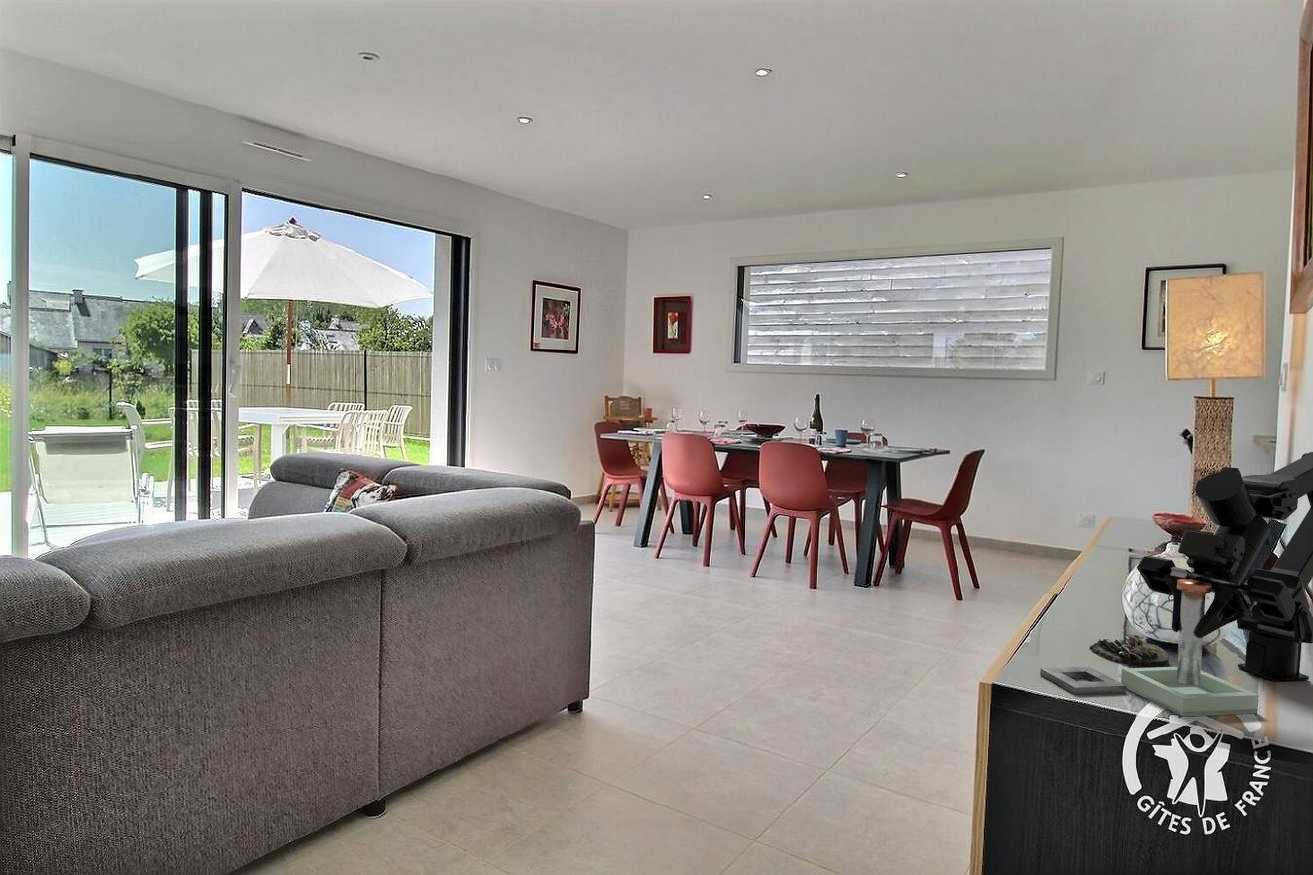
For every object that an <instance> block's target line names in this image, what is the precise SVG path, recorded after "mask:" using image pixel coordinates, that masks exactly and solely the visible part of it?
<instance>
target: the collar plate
mask: <svg viewBox="0 0 1313 875" xmlns="http://www.w3.org/2000/svg"><path fill="white" fill-rule="evenodd" d="M1039 670H1040V671H1039V672H1040V673H1039V675H1040V676H1042V677H1044V678H1045V679H1046V680H1048V681H1050V682H1052V683H1054V684H1056V685H1058V686H1059V687H1061V688H1063V689H1064V690H1066V691H1068V692H1069V693H1071V694H1073V695H1096V694H1097V695H1101V694H1102V695H1103V694H1120V693H1121V694H1125V693H1127V688H1126V685H1124V684H1122V683H1121V681H1119V680H1116V679H1114V678H1112V677H1110V676H1109V675H1106V674H1105V673H1102V672H1100V671H1098V670H1096V669H1095V668H1092V667H1091V666H1066V667H1064V666H1063V667H1040V669H1039ZM1075 679H1087V680H1089V681H1081V682H1079V681H1077V680H1075Z"/></svg>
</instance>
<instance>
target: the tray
mask: <svg viewBox="0 0 1313 875" xmlns="http://www.w3.org/2000/svg"><path fill="white" fill-rule="evenodd" d="M1176 675H1177V666H1168V667H1155V668H1146V667H1134V668H1133V667H1131V668H1130V667H1129V668H1121V675H1120V676H1121V678H1120V679H1121V680H1120V683H1122V684H1124V685H1126V690H1129V691H1131V692H1133V693H1135V694H1137V695H1138V696H1141V697H1143V698H1145V699H1147V700H1148V701H1151V702H1152V703H1155V704H1157V705H1158V706H1160V707H1163V708H1164V709H1166V710H1168V711H1170V712H1172V713H1174V714H1176V715H1178V716H1180V717H1182V718H1183V717H1205V716H1223V715H1225V716H1226V715H1227V716H1228V715H1246V714H1247V715H1248V714H1249V715H1250V714H1251V715H1252V714H1258V711H1259V696H1260V695H1259V694H1257V693H1255V692H1252V691H1250V690H1248V689H1246V688H1243V687H1241V686H1238V685H1236V684H1234V683H1231V682H1229V681H1227V680H1225V679H1222V678H1220V677H1217V676H1215V675H1213V674H1211V673H1208V672H1205V671H1204V670H1201V676H1200V684H1199V685H1188V684H1183V683H1180V682H1178V681H1177V680H1176Z"/></svg>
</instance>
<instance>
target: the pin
mask: <svg viewBox="0 0 1313 875" xmlns="http://www.w3.org/2000/svg"><path fill="white" fill-rule="evenodd" d="M1177 589H1179V590H1182V593H1181V610H1180V626H1179V631H1178V644H1177V646H1178V647H1177V660H1176V667H1177V675H1176V680H1177V681H1178V682H1180V683H1183V684H1188V685H1199V684H1200V676H1201V671H1202V660H1203V659H1202V658H1203V657H1202V656H1203V642H1204V641H1203V640H1204V637H1203V638H1201V639H1200V638H1197V636H1196V634H1195V633H1196V630H1197V628H1198V625H1199V623H1200V622H1201V620H1202V618H1203V617H1204V615H1205V613H1206V612H1205V611H1206V595H1207V594H1211V593H1212V592H1211V584H1210V583H1207V582H1203V581H1198V580H1190V579H1180V580H1177Z"/></svg>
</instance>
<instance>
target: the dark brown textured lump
mask: <svg viewBox="0 0 1313 875" xmlns="http://www.w3.org/2000/svg"><path fill="white" fill-rule="evenodd" d="M1141 638H1142V637H1141V635H1137V634H1133V636H1129V635H1128V636H1124V637H1123V639H1122V638H1119V639H1118V638H1115V640H1114V641H1113V640H1110V639H1108V638H1103V639H1102V638H1098V640H1097V642H1094V643H1093V644H1091V645H1090V646H1089V648H1088V650H1090V651H1091V653H1093V654H1095V655H1097V656H1099V657H1101V658H1103V659H1104V660H1108V661H1110V662H1115V663H1116V664H1121V665H1128V666H1135V667H1137V668H1155V667H1169V664H1170V660H1169V659H1170V658H1169V655H1168V654H1167V651H1166V650H1164V649H1163V648H1162V647H1160V646H1158V645H1156V644H1154V643H1152V644H1151V643H1147V642H1144V640H1143V639H1141Z"/></svg>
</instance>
